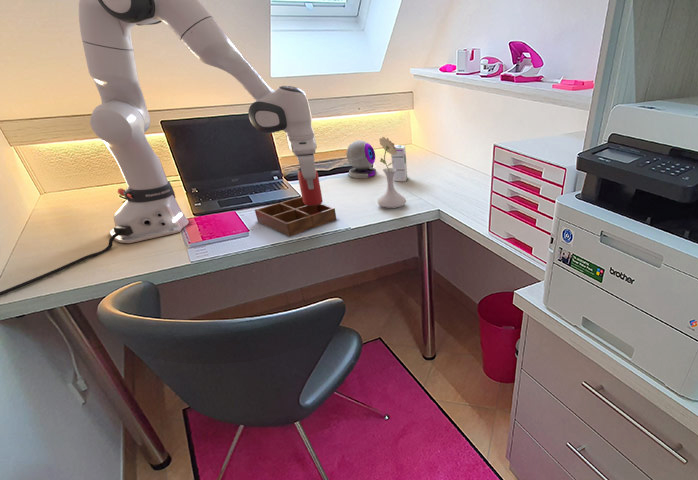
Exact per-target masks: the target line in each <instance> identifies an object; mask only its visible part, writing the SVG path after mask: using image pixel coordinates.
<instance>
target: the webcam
mask: <svg viewBox="0 0 698 480" xmlns="http://www.w3.org/2000/svg"><path fill="white" fill-rule="evenodd" d="M346 160H347V162H348V163H349V165H350V166H351V167H352V168H350V169H349V171H348V175H349V176H350V177H352V178H356V179H368V178H371V177H373V176H375V175H376V173H377V169H376V168H374V167H373V165H374V164H375V162H376V152H375V149H374V147H373V146H372V144H370V143H369V142H368V141H365V140H361V139H360V140H359V139H358V140H355V141H353V142H351V143H350V144H349V145H348V146H347V149H346Z"/></svg>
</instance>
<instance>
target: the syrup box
mask: <svg viewBox="0 0 698 480" xmlns="http://www.w3.org/2000/svg"><path fill="white" fill-rule="evenodd" d="M394 146H395V147H396V149H397V152H396V153H397V154H396V155H391V154H390V155H391V156H390V158H391V163H392V162H393V161H394V162H393V163H392V164H391V168H393V169H396V171H395V173H394V177H393V182H407V179H408V168H407V166H408V165H407V153H406V145H402V144H394Z"/></svg>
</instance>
